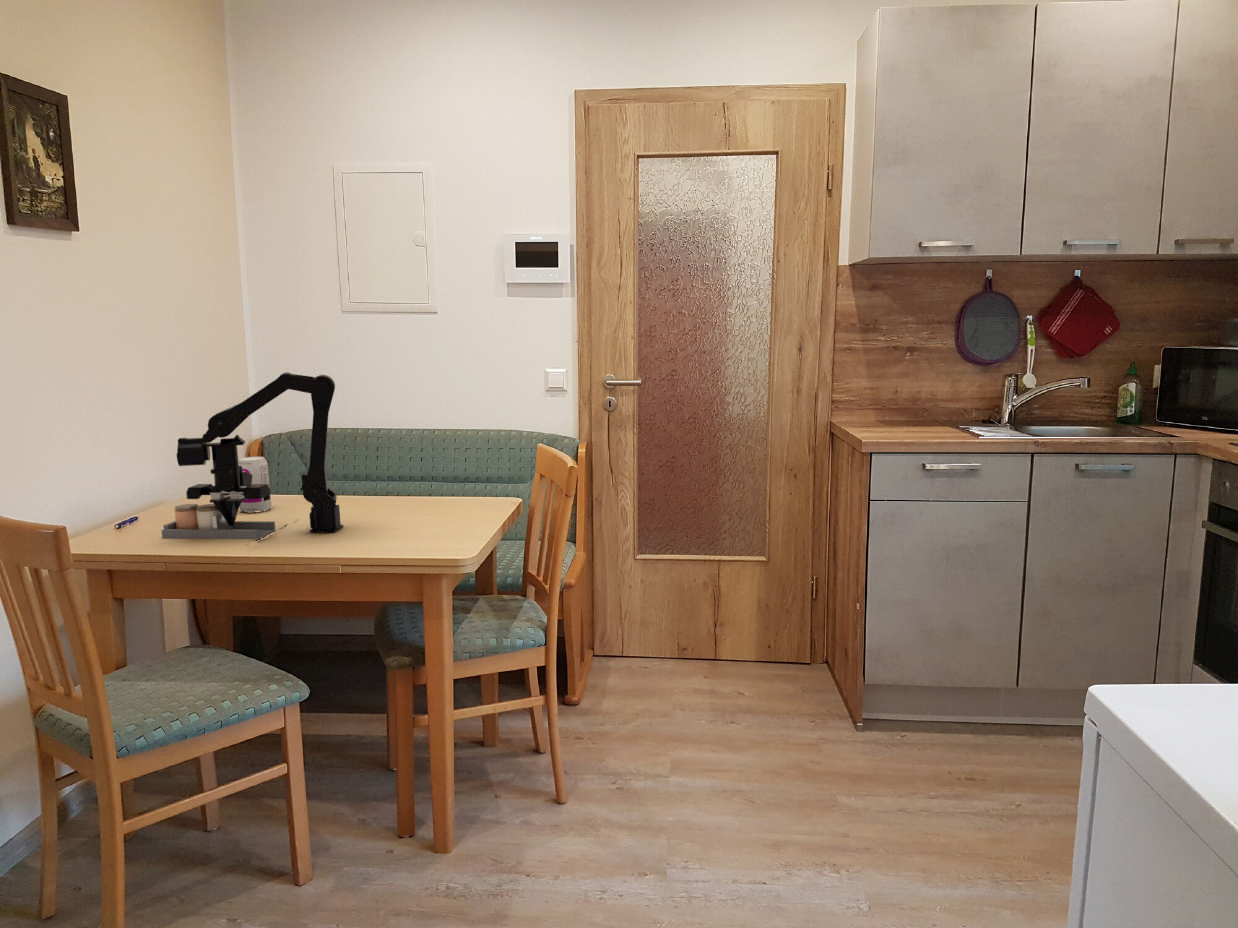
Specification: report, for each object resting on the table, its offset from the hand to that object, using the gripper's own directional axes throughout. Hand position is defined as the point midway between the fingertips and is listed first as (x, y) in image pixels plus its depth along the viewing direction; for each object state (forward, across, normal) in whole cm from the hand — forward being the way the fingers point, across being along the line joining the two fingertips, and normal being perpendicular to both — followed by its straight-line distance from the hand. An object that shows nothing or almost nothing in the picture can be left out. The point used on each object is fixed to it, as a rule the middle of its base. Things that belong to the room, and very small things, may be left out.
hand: (231, 525), depth 211 cm
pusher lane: (+3, +3, 0) cm, 5 cm away
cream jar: (+2, +6, 0) cm, 6 cm away
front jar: (+2, +11, 0) cm, 11 cm away
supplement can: (+3, +9, -30) cm, 32 cm away
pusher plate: (+2, +2, 0) cm, 3 cm away
